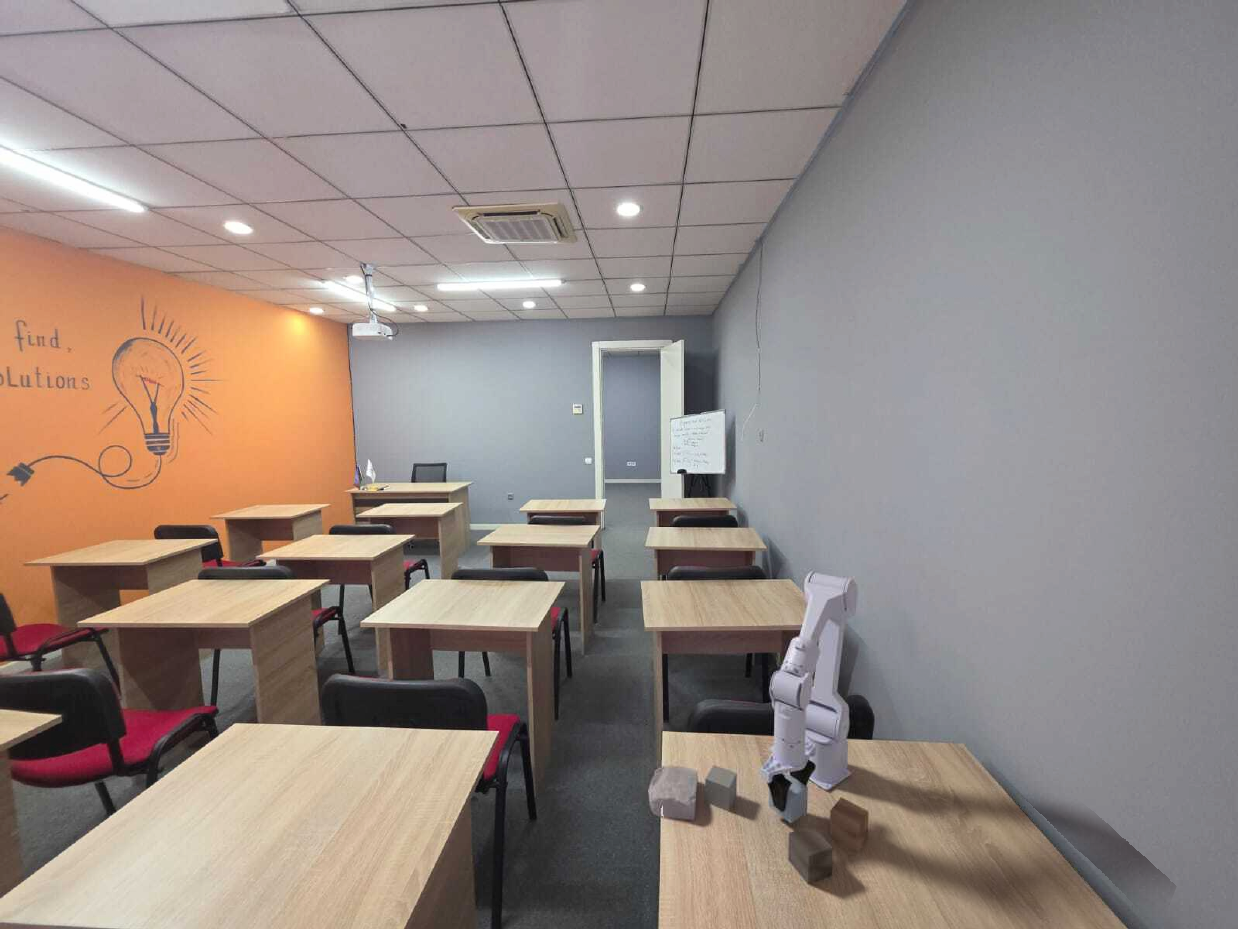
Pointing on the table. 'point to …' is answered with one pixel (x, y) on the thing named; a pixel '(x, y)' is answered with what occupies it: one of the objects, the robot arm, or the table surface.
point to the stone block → (674, 792)
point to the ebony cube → (810, 854)
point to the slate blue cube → (793, 800)
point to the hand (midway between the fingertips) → (788, 802)
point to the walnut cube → (849, 824)
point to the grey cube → (720, 787)
